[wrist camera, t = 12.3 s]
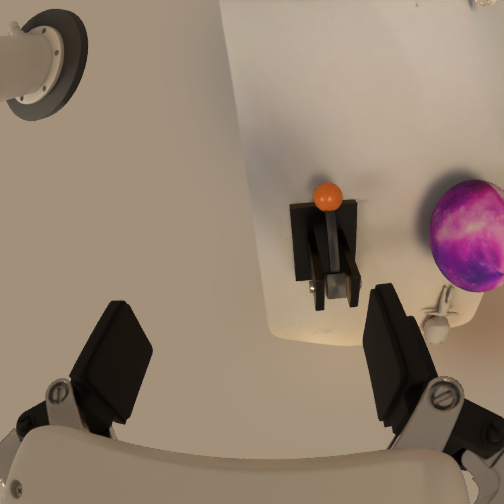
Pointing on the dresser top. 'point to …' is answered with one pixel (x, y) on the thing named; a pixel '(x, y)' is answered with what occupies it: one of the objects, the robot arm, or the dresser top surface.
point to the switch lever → (331, 238)
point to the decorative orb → (470, 235)
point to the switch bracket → (324, 248)
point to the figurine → (439, 320)
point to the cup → (490, 1)
